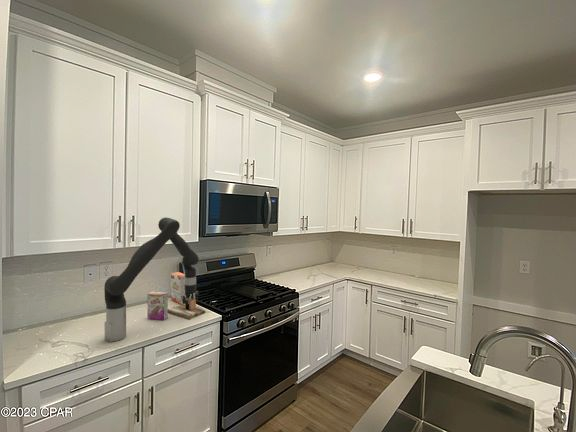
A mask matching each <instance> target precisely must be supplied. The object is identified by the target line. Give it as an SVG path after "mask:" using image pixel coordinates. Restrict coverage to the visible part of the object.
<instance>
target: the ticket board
mask: <svg viewBox="0 0 576 432" xmlns="http://www.w3.org/2000/svg"><path fill="white" fill-rule="evenodd" d="M205 313H206V310H205V309H201V308H199V307H196V308H195V309H193V310H189V309H186V308H185V304H181V305H180V304H179V305H177V306H175V305H174V306H171V307H168V315H171V316H175V317H179V318H183V319H185V320H189V321H190V320H192V319H195V318H197V317H199V316H201V315H204V314H205Z"/></svg>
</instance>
